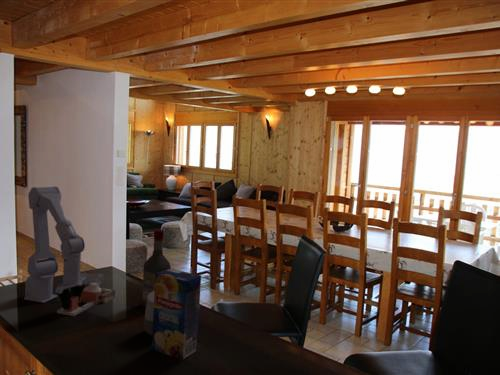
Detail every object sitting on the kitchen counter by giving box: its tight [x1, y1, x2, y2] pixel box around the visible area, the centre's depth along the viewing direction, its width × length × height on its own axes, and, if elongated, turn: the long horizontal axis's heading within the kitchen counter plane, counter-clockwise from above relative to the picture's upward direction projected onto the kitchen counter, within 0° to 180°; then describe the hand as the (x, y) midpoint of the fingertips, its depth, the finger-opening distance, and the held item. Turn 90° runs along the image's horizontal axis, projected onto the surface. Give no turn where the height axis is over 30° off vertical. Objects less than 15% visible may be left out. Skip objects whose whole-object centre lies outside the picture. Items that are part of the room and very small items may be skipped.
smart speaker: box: [143, 291, 155, 337], centre depth 143 cm, size 10×9×14 cm
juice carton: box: [151, 268, 202, 361], centre depth 132 cm, size 12×8×24 cm, turn 62°
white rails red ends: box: [56, 290, 99, 317], centre depth 160 cm, size 8×14×5 cm, turn 166°
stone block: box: [80, 272, 105, 287], centre depth 188 cm, size 12×5×10 cm
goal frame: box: [84, 286, 116, 304], centre depth 172 cm, size 12×7×3 cm, turn 76°
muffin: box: [86, 282, 102, 298], centre depth 170 cm, size 6×6×7 cm
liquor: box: [141, 229, 172, 309], centre depth 167 cm, size 9×9×30 cm
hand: (70, 306), depth 157 cm, fingers open, 5 cm apart
